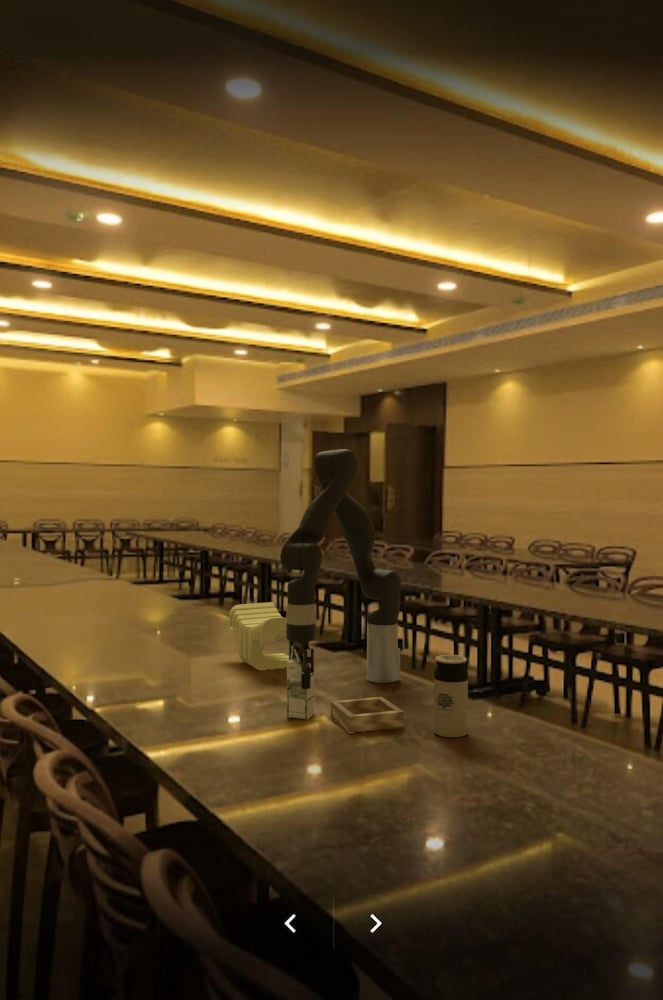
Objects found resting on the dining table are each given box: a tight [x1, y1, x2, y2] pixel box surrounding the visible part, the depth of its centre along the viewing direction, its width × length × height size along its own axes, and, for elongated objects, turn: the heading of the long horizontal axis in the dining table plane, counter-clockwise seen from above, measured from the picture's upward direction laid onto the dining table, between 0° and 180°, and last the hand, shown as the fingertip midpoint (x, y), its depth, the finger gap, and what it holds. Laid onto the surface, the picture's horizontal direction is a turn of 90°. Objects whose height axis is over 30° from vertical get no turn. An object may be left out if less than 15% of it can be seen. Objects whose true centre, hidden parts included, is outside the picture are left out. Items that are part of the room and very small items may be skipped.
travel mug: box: [433, 654, 469, 739], centre depth 189 cm, size 8×8×18 cm
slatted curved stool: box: [228, 601, 289, 671], centre depth 259 cm, size 30×16×18 cm, turn 27°
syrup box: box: [286, 658, 316, 721], centre depth 202 cm, size 6×6×14 cm
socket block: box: [330, 696, 405, 733], centre depth 198 cm, size 14×14×4 cm
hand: (300, 684), depth 202 cm, fingers closed on syrup box, 8 cm apart
